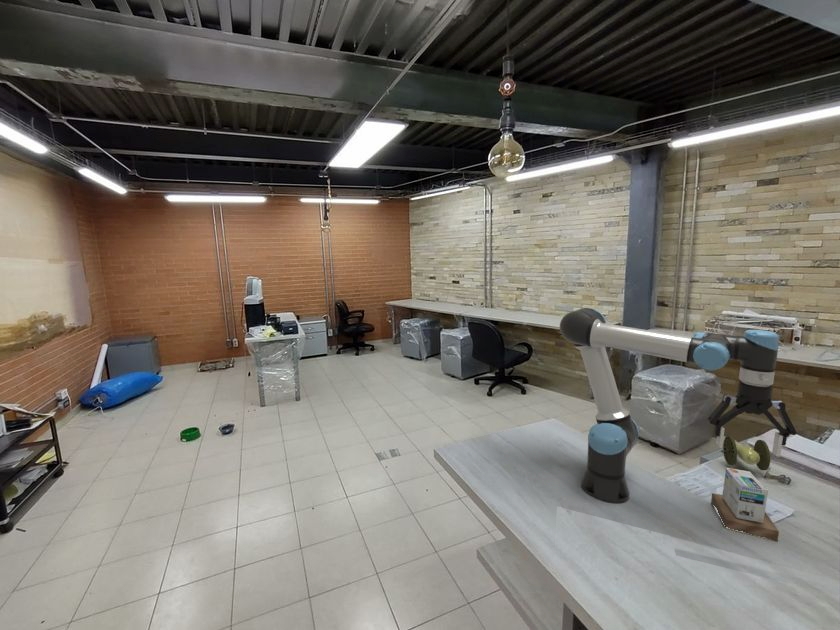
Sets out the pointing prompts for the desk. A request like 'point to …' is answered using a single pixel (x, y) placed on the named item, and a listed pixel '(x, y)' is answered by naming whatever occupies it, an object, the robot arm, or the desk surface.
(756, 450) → the cannon
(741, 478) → the light bulb box
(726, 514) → the walnut block
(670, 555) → the desk surface
